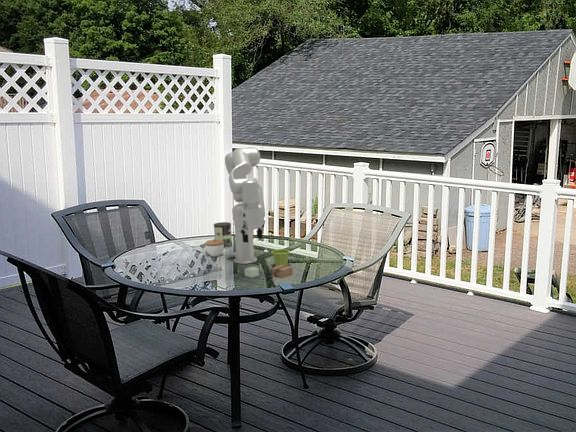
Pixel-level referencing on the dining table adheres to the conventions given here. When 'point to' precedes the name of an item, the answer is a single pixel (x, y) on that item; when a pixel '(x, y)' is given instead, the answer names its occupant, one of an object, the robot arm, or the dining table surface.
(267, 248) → the dining table surface
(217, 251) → the lidded jar
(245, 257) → the robot arm
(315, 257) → the dining table surface
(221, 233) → the coffee can
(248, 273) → the sage cube
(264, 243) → the dining table surface
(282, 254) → the plant pot
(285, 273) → the walnut base block
